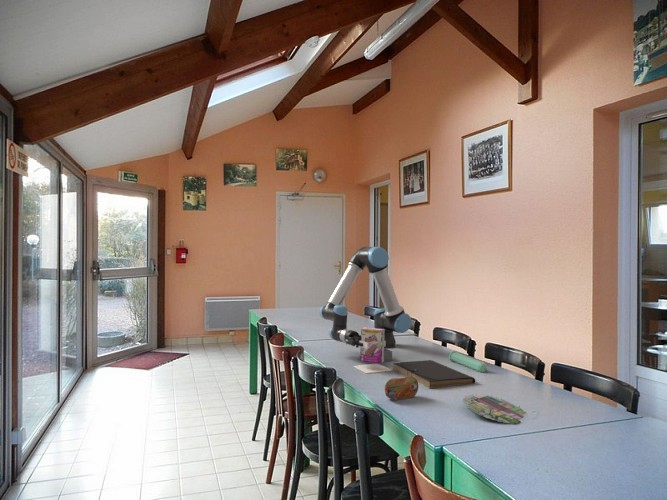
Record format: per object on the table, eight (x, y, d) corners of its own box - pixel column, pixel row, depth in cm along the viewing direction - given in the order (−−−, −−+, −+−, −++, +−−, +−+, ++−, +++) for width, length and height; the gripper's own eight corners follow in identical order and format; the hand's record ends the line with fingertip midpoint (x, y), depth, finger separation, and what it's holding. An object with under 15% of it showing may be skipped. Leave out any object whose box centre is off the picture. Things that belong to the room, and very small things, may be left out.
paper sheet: (377, 364, 237) (377, 363, 237) (391, 370, 224) (391, 370, 224) (353, 366, 232) (353, 365, 232) (366, 373, 219) (366, 372, 219)
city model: (522, 438, 151) (524, 420, 151) (452, 415, 163) (455, 398, 163) (533, 416, 172) (536, 400, 172) (471, 397, 185) (473, 382, 184)
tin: (387, 402, 178) (388, 380, 178) (383, 399, 181) (383, 378, 181) (418, 396, 185) (419, 376, 185) (414, 394, 188) (414, 374, 188)
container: (487, 360, 223) (456, 348, 247) (477, 365, 221) (447, 353, 245) (490, 371, 224) (459, 358, 248) (481, 376, 222) (450, 363, 246)
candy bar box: (359, 361, 227) (360, 328, 227) (362, 359, 232) (363, 327, 232) (381, 364, 224) (382, 330, 224) (384, 361, 228) (384, 328, 228)
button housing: (382, 356, 254) (382, 347, 254) (392, 360, 245) (392, 351, 245) (366, 357, 250) (366, 348, 250) (375, 362, 241) (375, 352, 241)
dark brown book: (392, 362, 227) (434, 359, 236) (392, 370, 227) (433, 367, 235) (429, 380, 196) (475, 376, 205) (428, 389, 196) (475, 385, 205)
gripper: (366, 342, 250) (393, 350, 231) (332, 346, 237) (357, 354, 219) (366, 328, 250) (394, 335, 231) (332, 331, 237) (358, 339, 219)
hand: (376, 344), depth 225 cm, fingers closed on candy bar box, 10 cm apart
